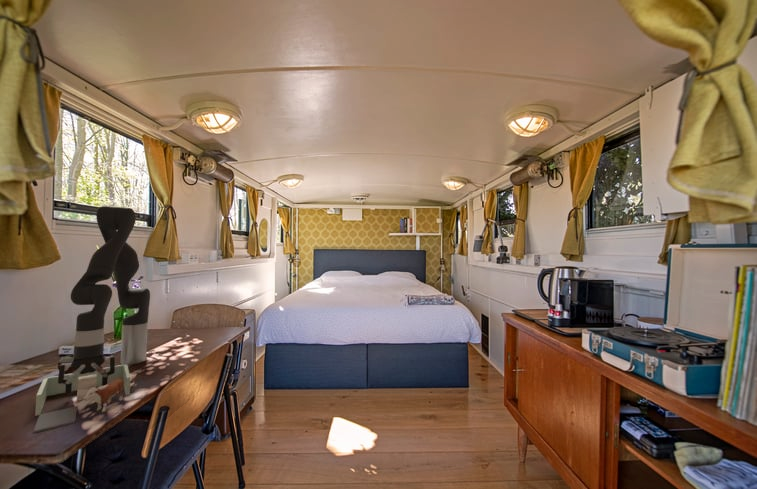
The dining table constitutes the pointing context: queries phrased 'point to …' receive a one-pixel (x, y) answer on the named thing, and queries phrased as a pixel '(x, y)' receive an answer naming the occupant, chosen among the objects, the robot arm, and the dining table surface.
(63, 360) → the mate gourd
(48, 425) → the grey rectangular plate
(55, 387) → the green u-shaped frame
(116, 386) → the bull figurine
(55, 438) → the dining table surface
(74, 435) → the dining table surface
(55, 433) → the dining table surface
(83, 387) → the cream block
